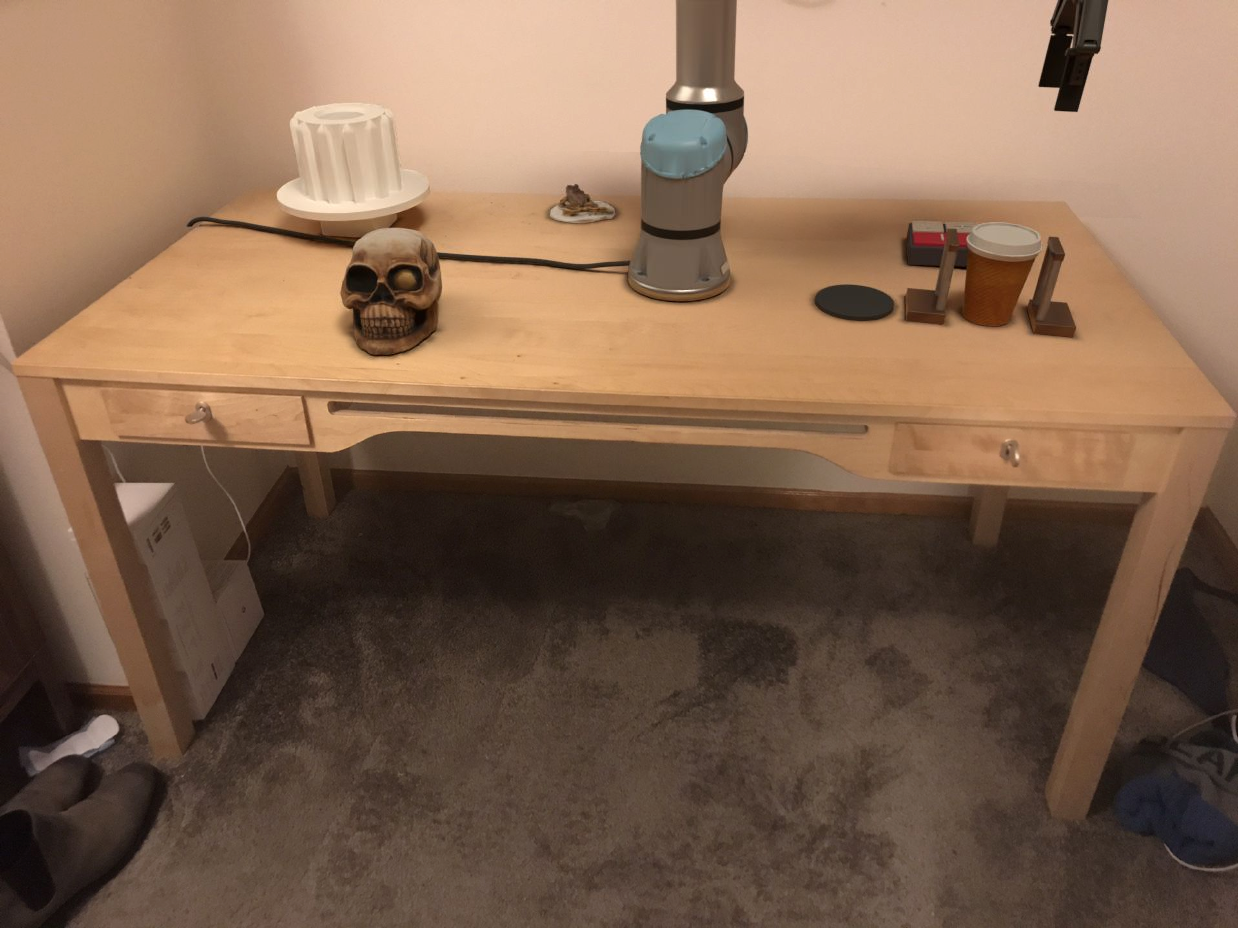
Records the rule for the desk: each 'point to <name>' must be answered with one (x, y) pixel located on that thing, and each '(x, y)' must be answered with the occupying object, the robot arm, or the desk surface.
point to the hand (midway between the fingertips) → (1056, 99)
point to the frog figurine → (581, 208)
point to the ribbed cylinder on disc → (349, 170)
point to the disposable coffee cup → (997, 270)
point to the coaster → (854, 302)
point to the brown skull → (392, 290)
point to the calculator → (935, 242)
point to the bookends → (1040, 309)
